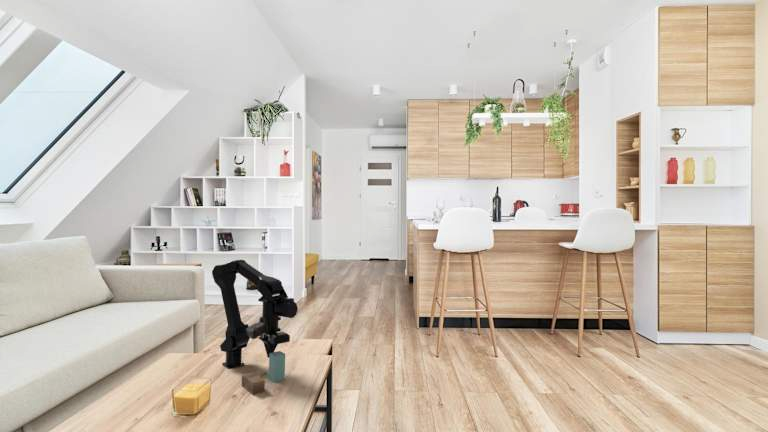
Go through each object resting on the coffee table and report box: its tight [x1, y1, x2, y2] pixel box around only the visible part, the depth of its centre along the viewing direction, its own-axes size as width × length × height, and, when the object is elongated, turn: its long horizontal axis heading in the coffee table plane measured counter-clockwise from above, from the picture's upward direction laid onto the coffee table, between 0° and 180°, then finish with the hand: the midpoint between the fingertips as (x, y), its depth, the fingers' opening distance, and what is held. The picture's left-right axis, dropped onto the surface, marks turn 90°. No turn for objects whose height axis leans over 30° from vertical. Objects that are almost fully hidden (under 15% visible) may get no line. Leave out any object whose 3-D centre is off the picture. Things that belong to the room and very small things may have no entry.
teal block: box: [268, 350, 286, 383], centre depth 143 cm, size 4×4×9 cm
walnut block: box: [241, 371, 266, 396], centre depth 134 cm, size 4×4×9 cm
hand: (269, 357), depth 147 cm, fingers closed
